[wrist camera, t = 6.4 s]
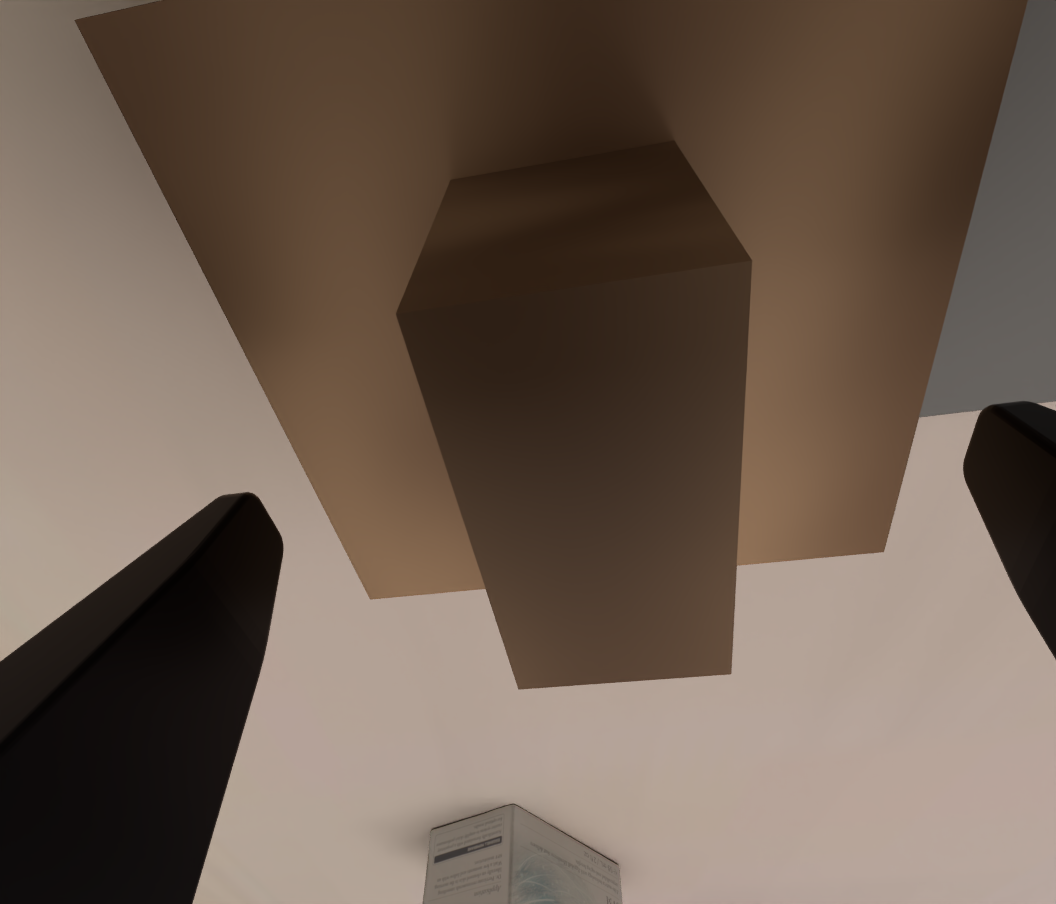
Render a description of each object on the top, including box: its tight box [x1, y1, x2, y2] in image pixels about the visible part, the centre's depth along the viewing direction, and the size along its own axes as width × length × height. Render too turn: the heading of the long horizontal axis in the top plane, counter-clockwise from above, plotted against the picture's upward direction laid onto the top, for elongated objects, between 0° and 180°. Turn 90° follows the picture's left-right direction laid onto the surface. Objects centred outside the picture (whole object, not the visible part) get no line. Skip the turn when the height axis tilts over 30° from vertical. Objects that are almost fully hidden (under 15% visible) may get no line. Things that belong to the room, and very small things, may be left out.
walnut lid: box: [75, 0, 1028, 689], centre depth 9 cm, size 11×11×5 cm
